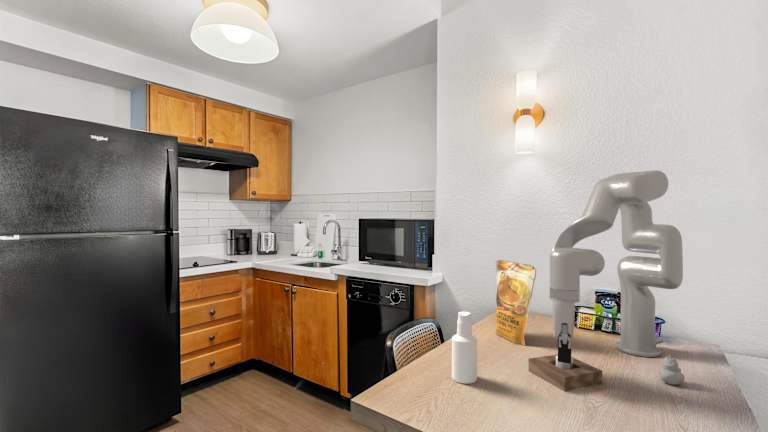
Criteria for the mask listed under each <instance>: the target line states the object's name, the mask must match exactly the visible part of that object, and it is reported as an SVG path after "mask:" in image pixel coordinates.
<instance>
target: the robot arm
mask: <svg viewBox="0 0 768 432" xmlns="http://www.w3.org/2000/svg"><path fill="white" fill-rule="evenodd" d="M668 189H669V179H668V176H667V174H665V173H664V172H663V171H661V170H657V169H655V170H646V171H645V170H643V171H636V172H621V173H617V174H612V175H610V176H607V177H605V178H604V177H603V178H602V179H599V180H598V181H597V182H596V183H595V185H594V186H593V189H592V190H591V191H592V192H591V194H590V196H589V198H588V201H587V203H586V206H585V207H584V210H583V213H582V215H581V216H580V217H578V218H577V219H576V220H574V221H572V222H571V223H570V224H569V225H568V226H566V227H565V228H564V229H563V230H561V232H560V233H559V234H558V235H557V237H556V239H555V241H554V244H553V246H552V249H551V252H550V254H549V300H551V301H553V303H552V304H553V305H552V336H553V337H554V338H556V337H557V354H558V362H562V363H568V364H571V357H572V348H571V340H572V339H573V338H574V332H575V331H574V329H575V311H576V308H575V305H576V304H577V303H580V301H581V299H580V298H581V297H580V295H581V294H580V292H581V291H580V289H581V287H580V286H581V285H580V279H581V277H580V276H587V277H593V276H598V275H599V274H600V273H602V271H603V270H604V269H605V265H606V262H605V258H604V256H603V255H602V254H601V253H600V252H599V251H597V250H594V249H587V248H579V247H574V246H575V245H577V244H578V243H579V242H581V241H582V240H584V239H586V238H589V237H593V236H596V235H598V234H601V233H604V232H606V231H608V230H610V229H612V227H613V226H614V223H615V220H616V217H617V215H618V213H619V210H620V217H621V220H620V221H621V222H620V223H621V241H622V247H623V248H624V249H625V250H626V251H628V252H634V253H641V254H651V255H652V254H654V255H659V257H652V256H640V255H639V256H638V255H629V256H624V257H622V258H621V259H620V260H619V261H618V262H617V266H616V267H617V268H616V269H617V275H618V280H619V285H620V289H619V290H620V340H618V341H616V342H615V343H614V345H615V348H616V349H617V350H619V351H621V352H623V353H626V354H628V355H629V354H630V355H633V356H638V357H644V358H658V357H660V356H661V355H662V350H661V349H660V348H659V347H657V345H658V344H663V343H664V339H663V337H660V336H659V337H656V298H655V297H654V294H653V292H652V291H651V289H650V288H649V287H651V288H657V289H666V290H676V289H678V288H680V286H681V285H682V283H683V280H684V279H683V277H684V271H683V270H684V263H683V259H684V258H683V257H684V256H683V254H684V253H683V240H682V239H683V238H682V234H681V231H680V230H679V229H678V227H676V226H674V225H671V224H657V223H655V224H654V223H653V210H652V207H651V205H650V203H649V202H651V201H654V200H657V199H659V198H662V197H663V196H664V195H665V194H666V192H667V191H668Z"/></svg>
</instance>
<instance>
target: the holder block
mask: <svg viewBox="0 0 768 432" xmlns="http://www.w3.org/2000/svg"><path fill="white" fill-rule="evenodd" d="M557 355H558V353H556V354H552V355H551V354H550V355H544V356H538V357H531V358H528V372H530V373H532V374H533V375H535V376H537V377H538V378H540V379H542V380H544V381H546V382H547V383H549V384H551V385H552V386H554V387H556V388H558V389H560V390H562V391H563V392H568V391H573V390H578V389H583V388H589V387H593V386H599V385H603V370H601V369H600V368H597V367H595V366H593V365H590V364H589V363H586V362H584V361H581V360H579V359H578V358H575V357H572V356H571V357H572V358H573V369H569V370H563V369H561V368H559V367H557V366H556V356H557Z"/></svg>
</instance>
